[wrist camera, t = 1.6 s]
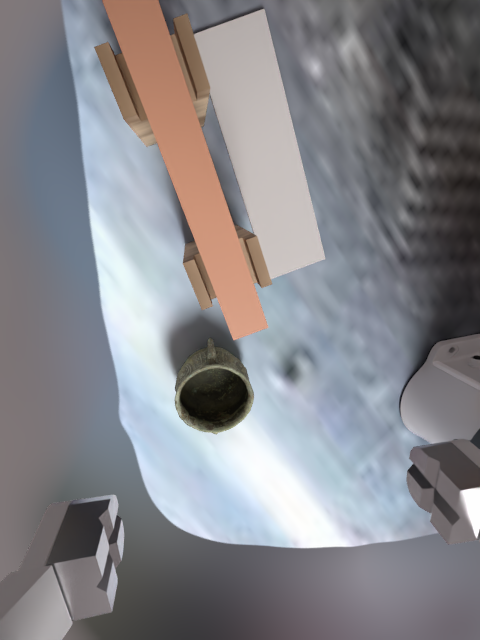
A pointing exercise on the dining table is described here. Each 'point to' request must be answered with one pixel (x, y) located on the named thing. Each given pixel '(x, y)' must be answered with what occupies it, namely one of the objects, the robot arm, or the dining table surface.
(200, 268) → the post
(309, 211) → the mat
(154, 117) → the rail
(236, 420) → the vessel
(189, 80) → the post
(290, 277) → the dining table surface
